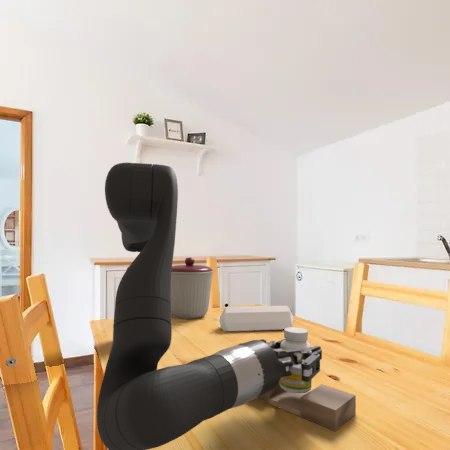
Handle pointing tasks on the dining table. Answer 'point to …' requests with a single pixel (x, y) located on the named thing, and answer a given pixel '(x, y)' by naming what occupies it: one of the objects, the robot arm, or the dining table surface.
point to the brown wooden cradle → (315, 404)
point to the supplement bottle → (293, 340)
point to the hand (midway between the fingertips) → (303, 348)
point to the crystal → (256, 318)
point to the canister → (190, 289)
